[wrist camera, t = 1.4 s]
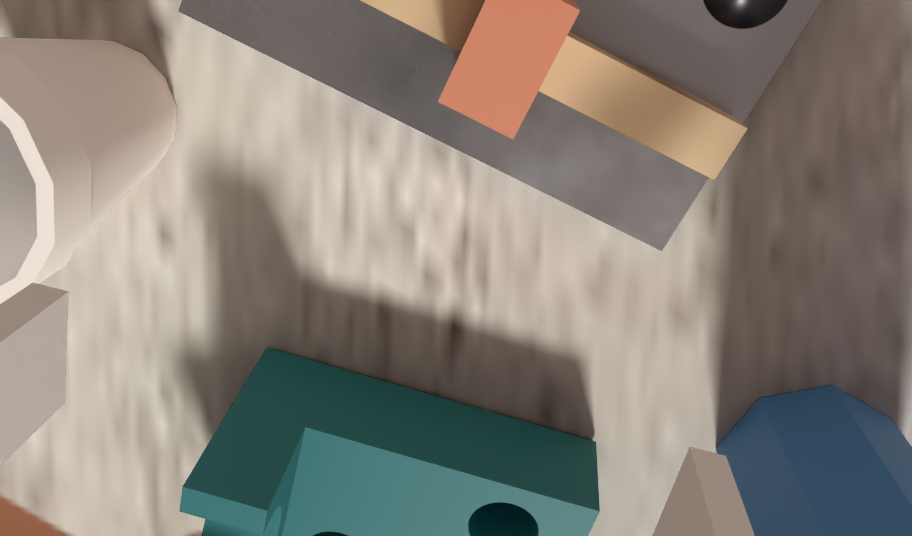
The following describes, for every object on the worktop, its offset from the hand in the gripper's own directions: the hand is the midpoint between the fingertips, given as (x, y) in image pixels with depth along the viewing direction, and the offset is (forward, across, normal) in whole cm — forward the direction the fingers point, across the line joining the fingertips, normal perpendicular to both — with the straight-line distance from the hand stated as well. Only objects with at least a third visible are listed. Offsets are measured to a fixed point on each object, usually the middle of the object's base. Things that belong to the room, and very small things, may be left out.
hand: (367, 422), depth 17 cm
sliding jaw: (+21, +1, +8) cm, 22 cm away
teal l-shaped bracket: (+23, +1, -18) cm, 29 cm away
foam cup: (+22, -17, -2) cm, 28 cm away
